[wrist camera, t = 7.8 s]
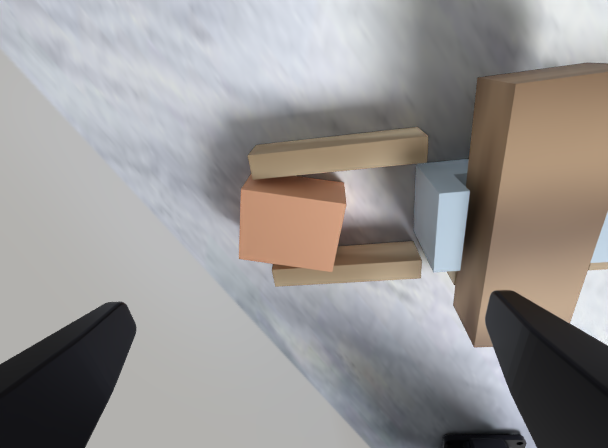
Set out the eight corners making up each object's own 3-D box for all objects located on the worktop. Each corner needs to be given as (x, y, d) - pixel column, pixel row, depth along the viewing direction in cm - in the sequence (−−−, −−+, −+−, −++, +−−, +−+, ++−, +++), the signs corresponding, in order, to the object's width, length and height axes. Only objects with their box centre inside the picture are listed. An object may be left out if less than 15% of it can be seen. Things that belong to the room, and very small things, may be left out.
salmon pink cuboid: (331, 242, 20) (332, 272, 17) (251, 231, 20) (238, 258, 17) (343, 181, 18) (346, 204, 15) (254, 168, 18) (240, 189, 15)
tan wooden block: (528, 301, 18) (562, 344, 15) (453, 305, 18) (474, 347, 16) (586, 62, 12) (657, 65, 10) (477, 77, 13) (515, 84, 10)
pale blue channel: (636, 213, 17) (716, 255, 14) (413, 230, 18) (433, 272, 15) (666, 139, 15) (767, 165, 12) (415, 163, 17) (439, 193, 13)
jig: (582, 255, 18) (625, 289, 16) (281, 273, 21) (274, 306, 18) (633, 102, 15) (700, 113, 12) (256, 145, 17) (242, 161, 14)
